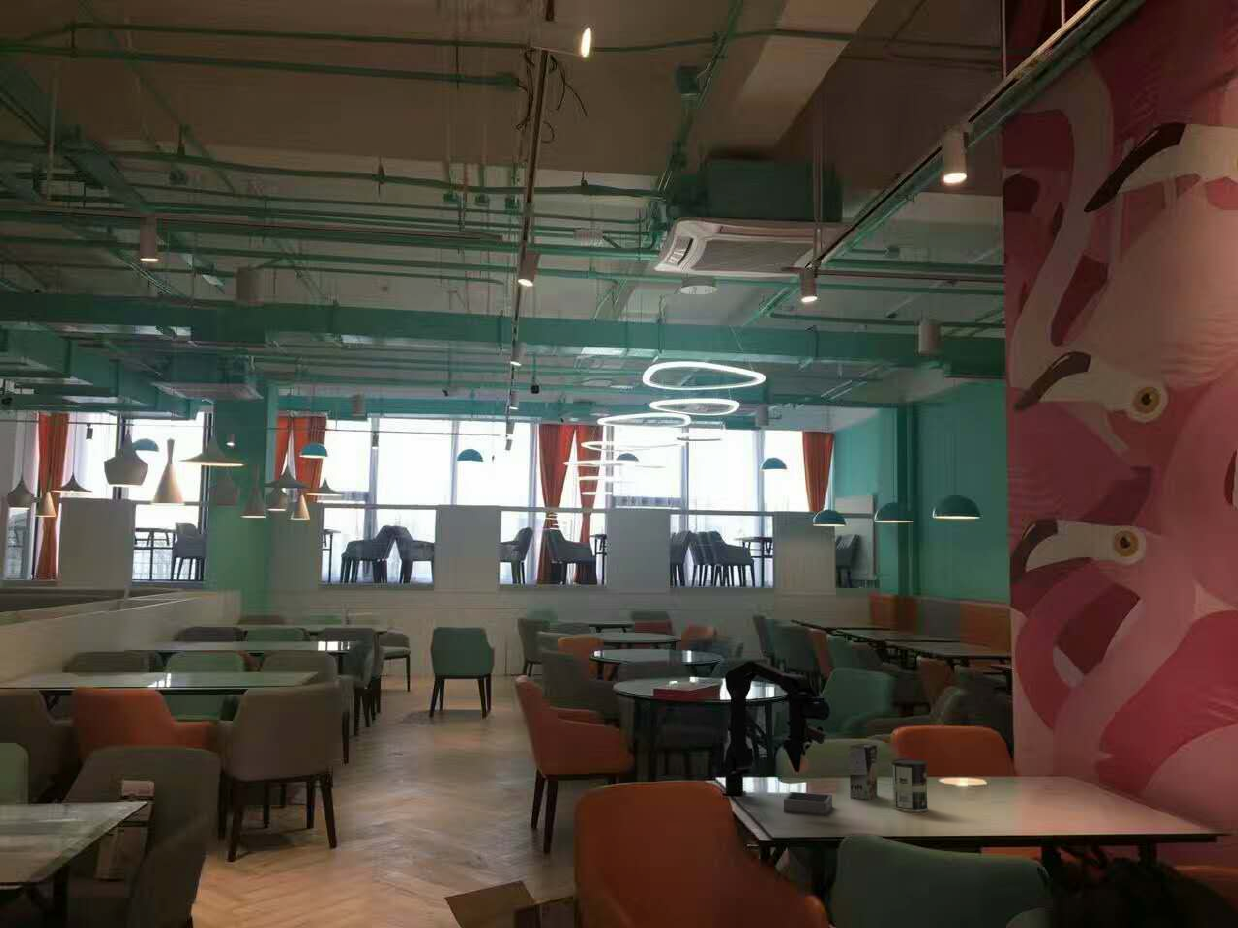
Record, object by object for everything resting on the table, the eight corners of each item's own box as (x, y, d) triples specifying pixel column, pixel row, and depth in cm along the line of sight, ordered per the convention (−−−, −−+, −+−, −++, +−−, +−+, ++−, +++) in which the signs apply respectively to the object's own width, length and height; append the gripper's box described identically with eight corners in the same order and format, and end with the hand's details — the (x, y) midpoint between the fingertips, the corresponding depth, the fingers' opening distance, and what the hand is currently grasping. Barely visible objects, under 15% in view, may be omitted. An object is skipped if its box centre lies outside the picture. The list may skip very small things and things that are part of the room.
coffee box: (869, 800, 319) (868, 748, 321) (850, 797, 323) (849, 746, 325) (878, 795, 327) (877, 744, 329) (858, 793, 330) (858, 742, 332)
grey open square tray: (791, 803, 313) (790, 791, 313) (832, 806, 309) (831, 794, 309) (783, 811, 301) (783, 799, 302) (826, 814, 297) (826, 802, 298)
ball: (790, 772, 310) (790, 752, 311) (810, 773, 308) (810, 753, 309) (787, 775, 305) (786, 754, 306) (807, 776, 303) (806, 755, 304)
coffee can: (926, 805, 312) (924, 759, 314) (929, 812, 302) (928, 764, 303) (891, 804, 314) (890, 757, 316) (893, 811, 304) (892, 762, 306)
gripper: (819, 722, 297) (820, 776, 295) (828, 715, 315) (830, 767, 313) (782, 720, 301) (783, 774, 299) (793, 714, 319) (794, 764, 316)
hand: (798, 770), depth 307 cm, fingers closed on ball, 6 cm apart
